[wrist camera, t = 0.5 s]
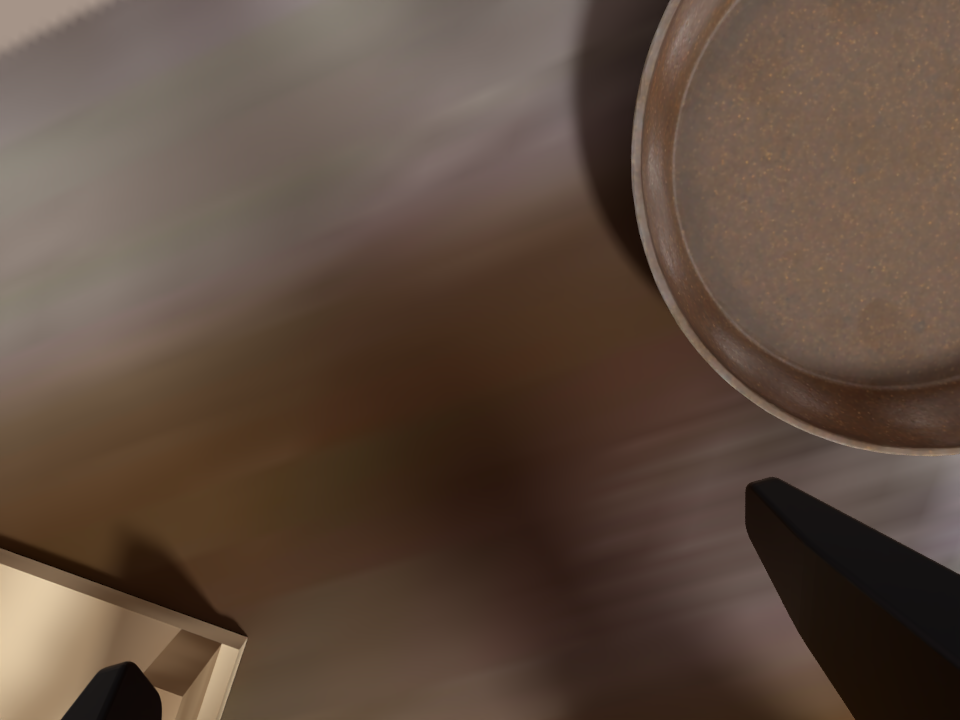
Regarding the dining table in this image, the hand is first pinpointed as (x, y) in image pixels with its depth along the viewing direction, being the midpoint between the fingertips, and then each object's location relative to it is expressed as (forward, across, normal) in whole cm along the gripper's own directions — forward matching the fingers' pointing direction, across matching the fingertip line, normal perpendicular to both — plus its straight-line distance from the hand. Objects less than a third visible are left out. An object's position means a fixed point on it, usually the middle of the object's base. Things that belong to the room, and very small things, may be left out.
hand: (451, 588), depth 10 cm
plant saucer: (+13, -16, +2) cm, 21 cm away
